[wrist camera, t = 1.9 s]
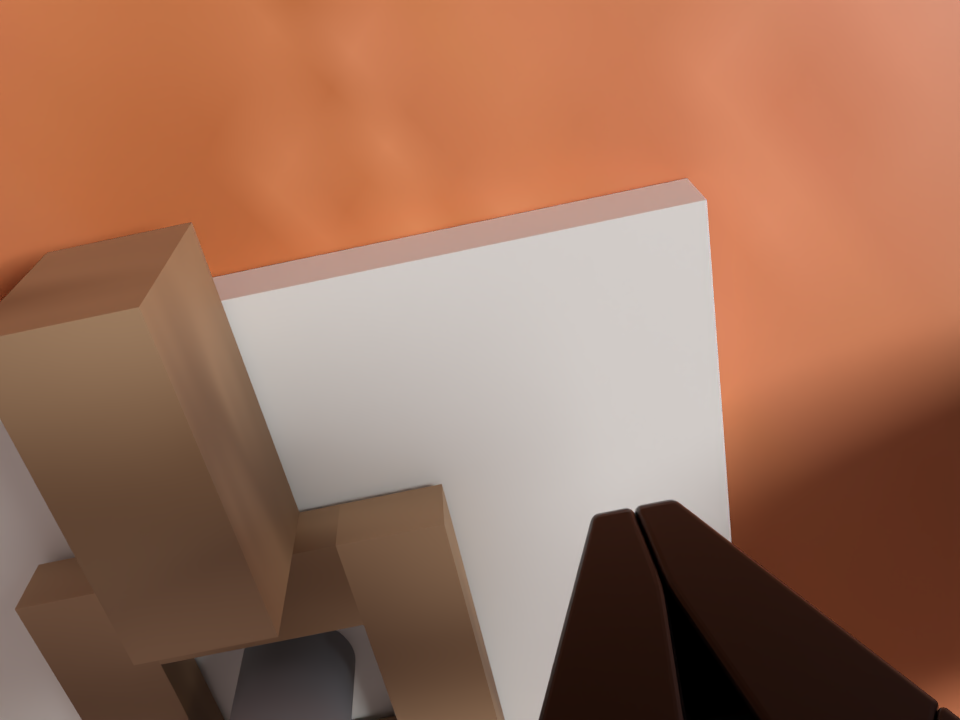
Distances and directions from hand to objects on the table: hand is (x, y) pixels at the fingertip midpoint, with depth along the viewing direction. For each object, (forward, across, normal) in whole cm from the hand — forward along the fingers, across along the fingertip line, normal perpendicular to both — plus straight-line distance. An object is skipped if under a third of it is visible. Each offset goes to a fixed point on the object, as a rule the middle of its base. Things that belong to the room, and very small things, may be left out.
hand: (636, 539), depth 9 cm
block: (+7, +7, +5) cm, 11 cm away
